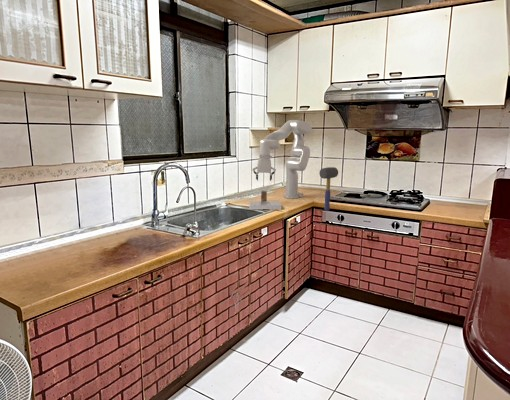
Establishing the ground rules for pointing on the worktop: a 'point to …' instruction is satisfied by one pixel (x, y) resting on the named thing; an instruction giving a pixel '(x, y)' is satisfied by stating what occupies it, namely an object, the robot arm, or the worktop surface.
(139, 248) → the worktop surface
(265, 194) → the walnut wedge
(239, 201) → the worktop surface
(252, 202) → the rosette plate
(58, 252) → the worktop surface
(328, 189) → the rubber mallet
